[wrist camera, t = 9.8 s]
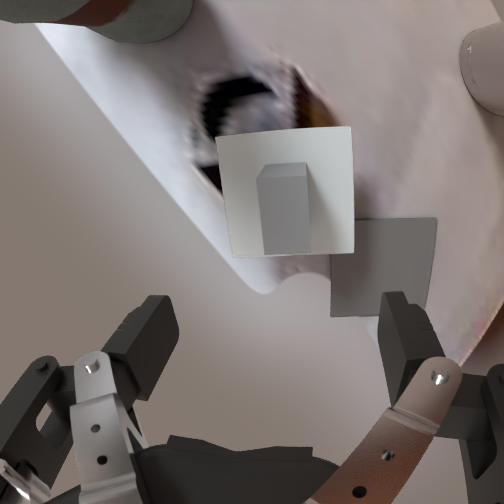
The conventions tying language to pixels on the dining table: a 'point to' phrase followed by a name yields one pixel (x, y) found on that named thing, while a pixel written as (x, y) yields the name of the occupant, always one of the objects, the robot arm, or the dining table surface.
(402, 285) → the mat
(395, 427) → the robot arm
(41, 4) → the bottle
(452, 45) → the dining table surface
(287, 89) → the dining table surface
